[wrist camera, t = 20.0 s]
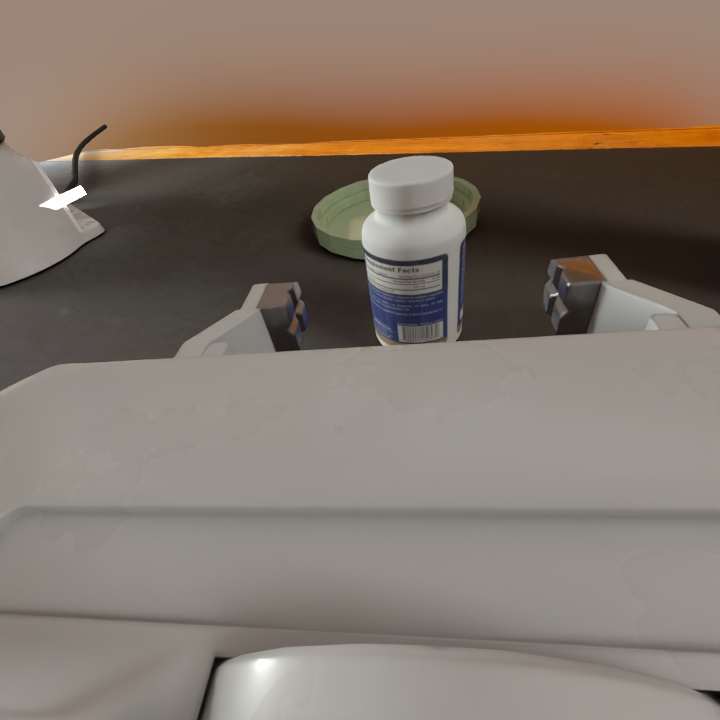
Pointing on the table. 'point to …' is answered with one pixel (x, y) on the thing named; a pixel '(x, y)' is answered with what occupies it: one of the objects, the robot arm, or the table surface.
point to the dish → (353, 205)
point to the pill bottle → (415, 252)
